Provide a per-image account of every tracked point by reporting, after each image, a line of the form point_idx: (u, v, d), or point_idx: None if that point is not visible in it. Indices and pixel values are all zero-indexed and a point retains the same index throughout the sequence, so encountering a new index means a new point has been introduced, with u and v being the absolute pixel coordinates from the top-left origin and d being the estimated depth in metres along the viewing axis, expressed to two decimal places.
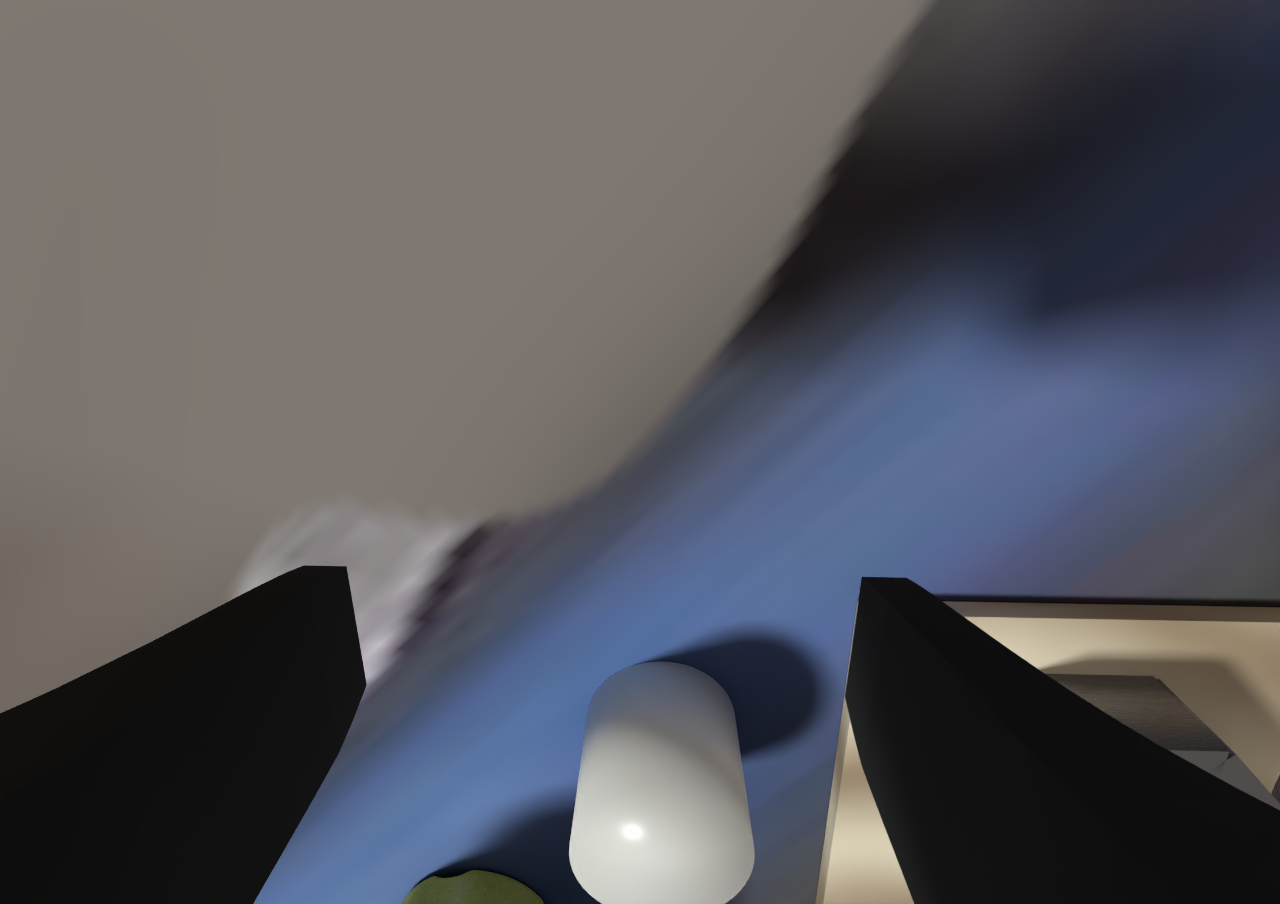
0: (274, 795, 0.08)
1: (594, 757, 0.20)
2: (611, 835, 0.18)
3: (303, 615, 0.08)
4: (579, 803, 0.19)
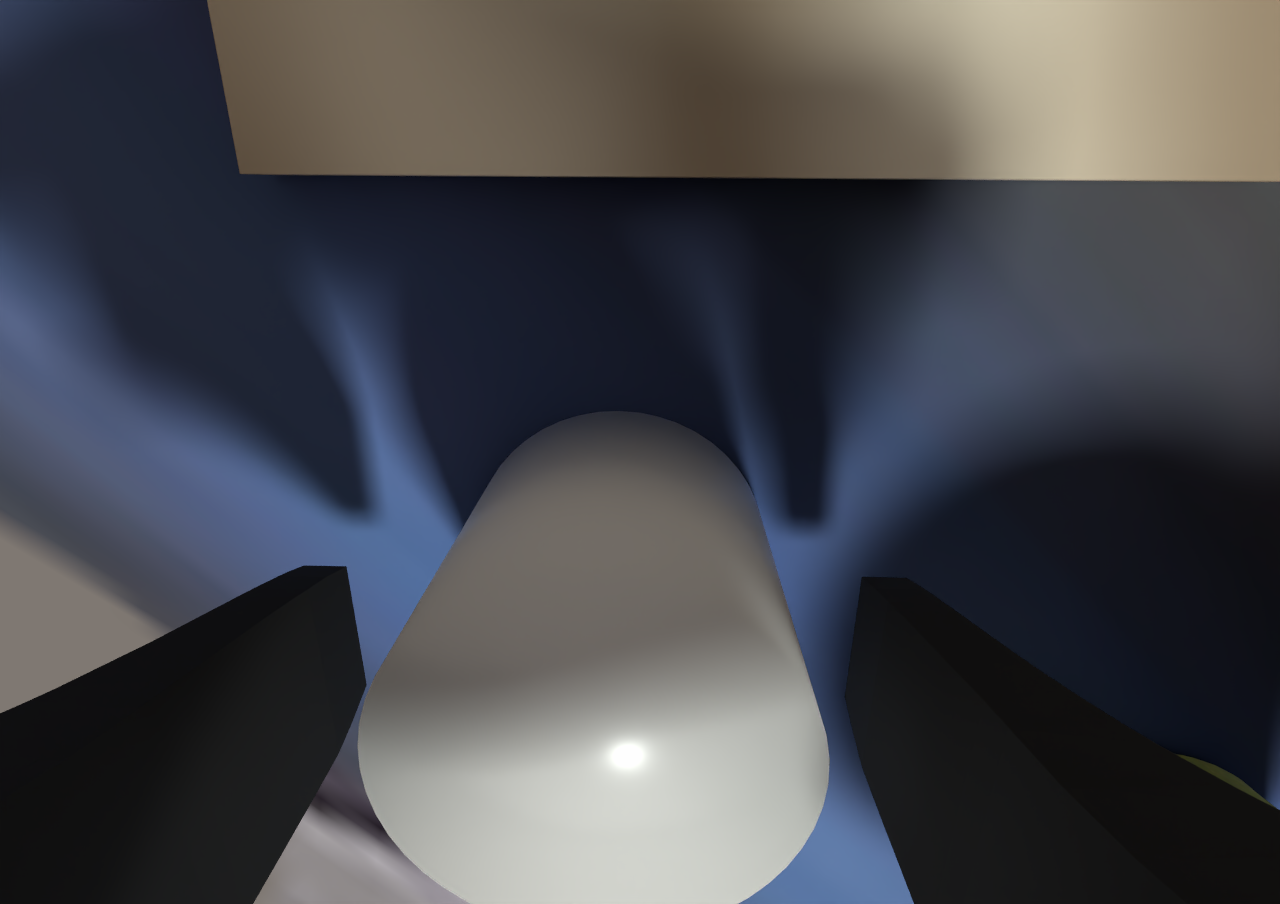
0: (274, 796, 0.08)
1: None
2: (528, 865, 0.08)
3: (304, 614, 0.08)
4: None
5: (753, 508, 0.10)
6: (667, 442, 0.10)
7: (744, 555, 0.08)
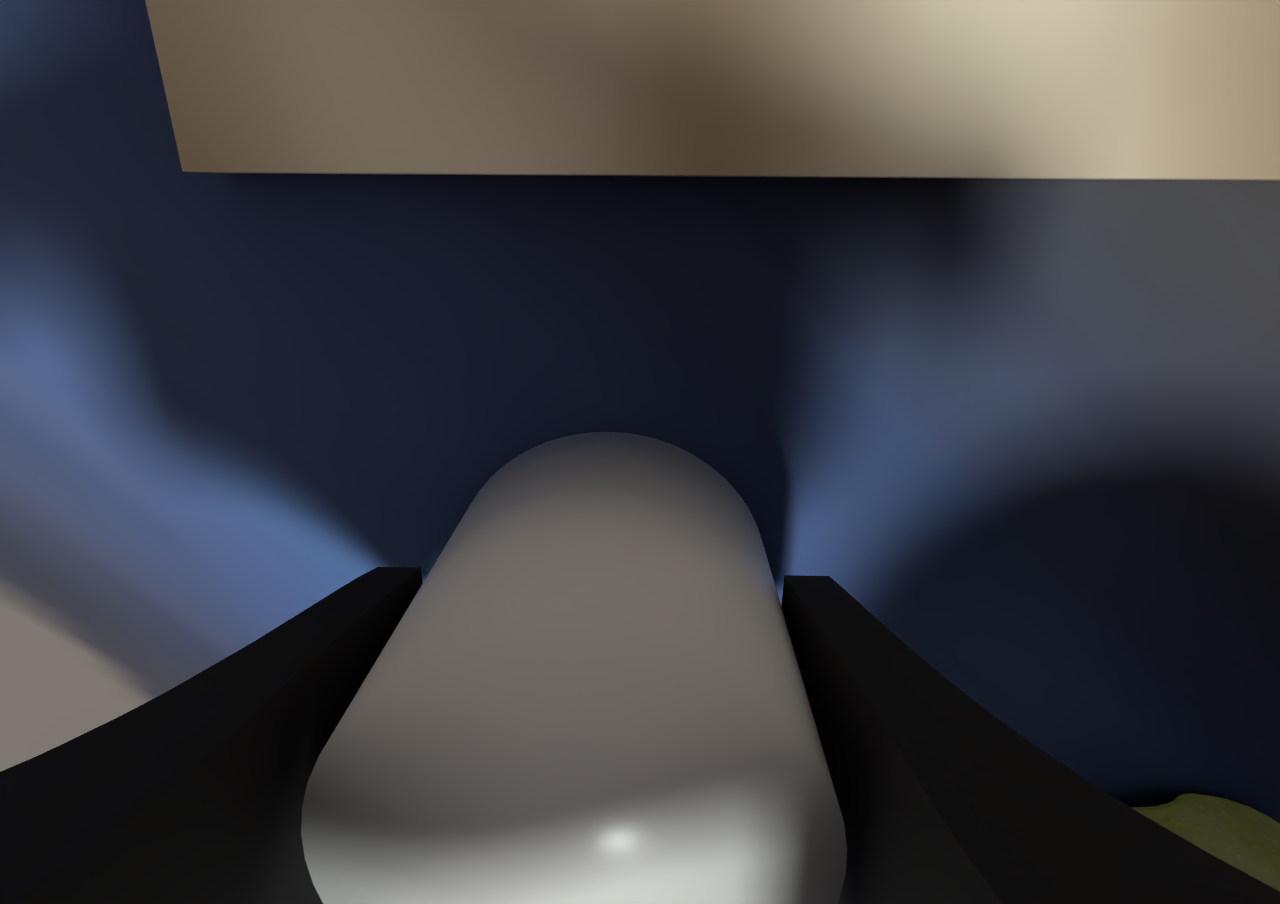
0: None
1: None
2: None
3: (387, 616, 0.08)
4: None
5: (756, 540, 0.09)
6: (661, 469, 0.09)
7: (746, 604, 0.07)
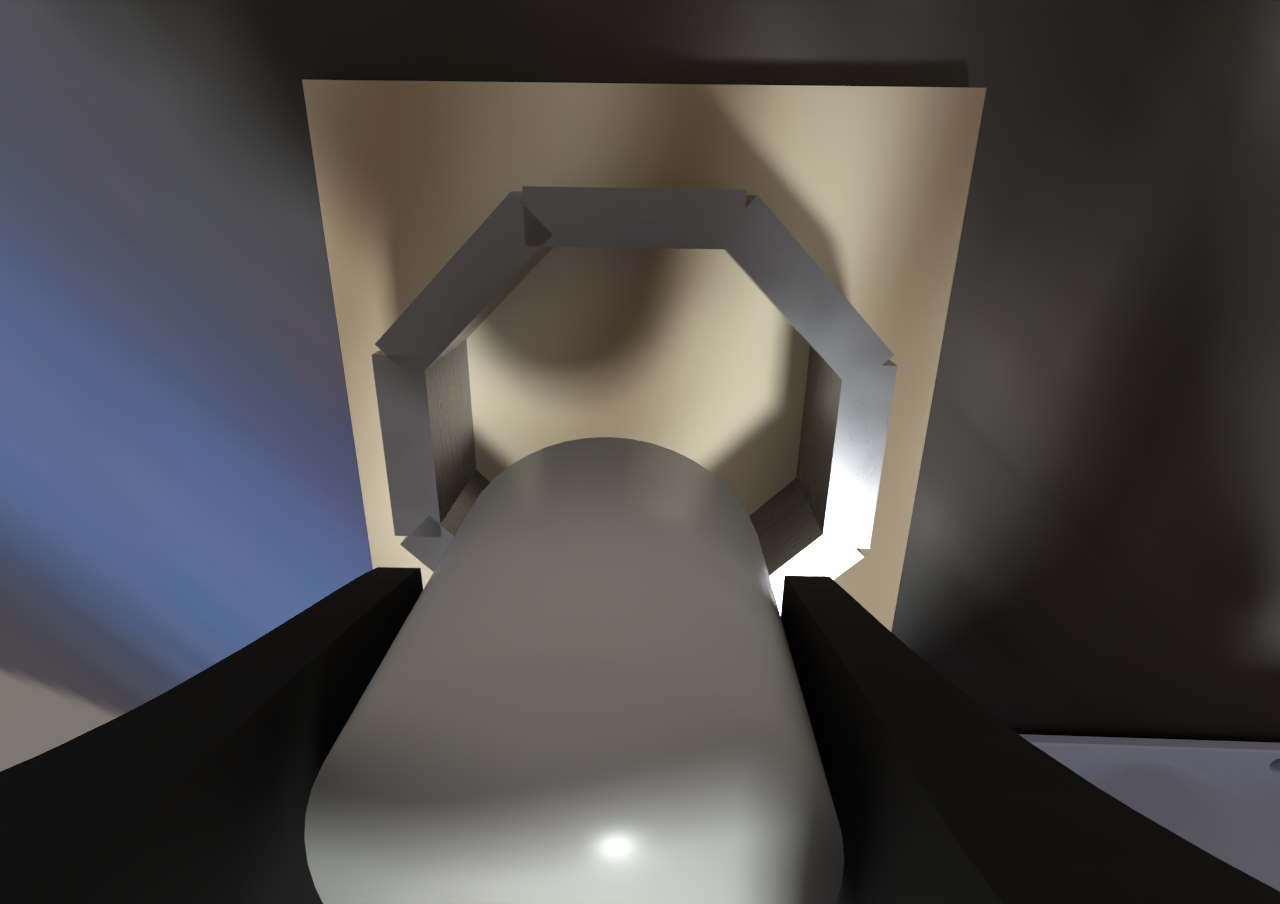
0: None
1: None
2: None
3: (387, 616, 0.08)
4: None
5: (755, 548, 0.09)
6: (662, 476, 0.09)
7: (747, 615, 0.07)
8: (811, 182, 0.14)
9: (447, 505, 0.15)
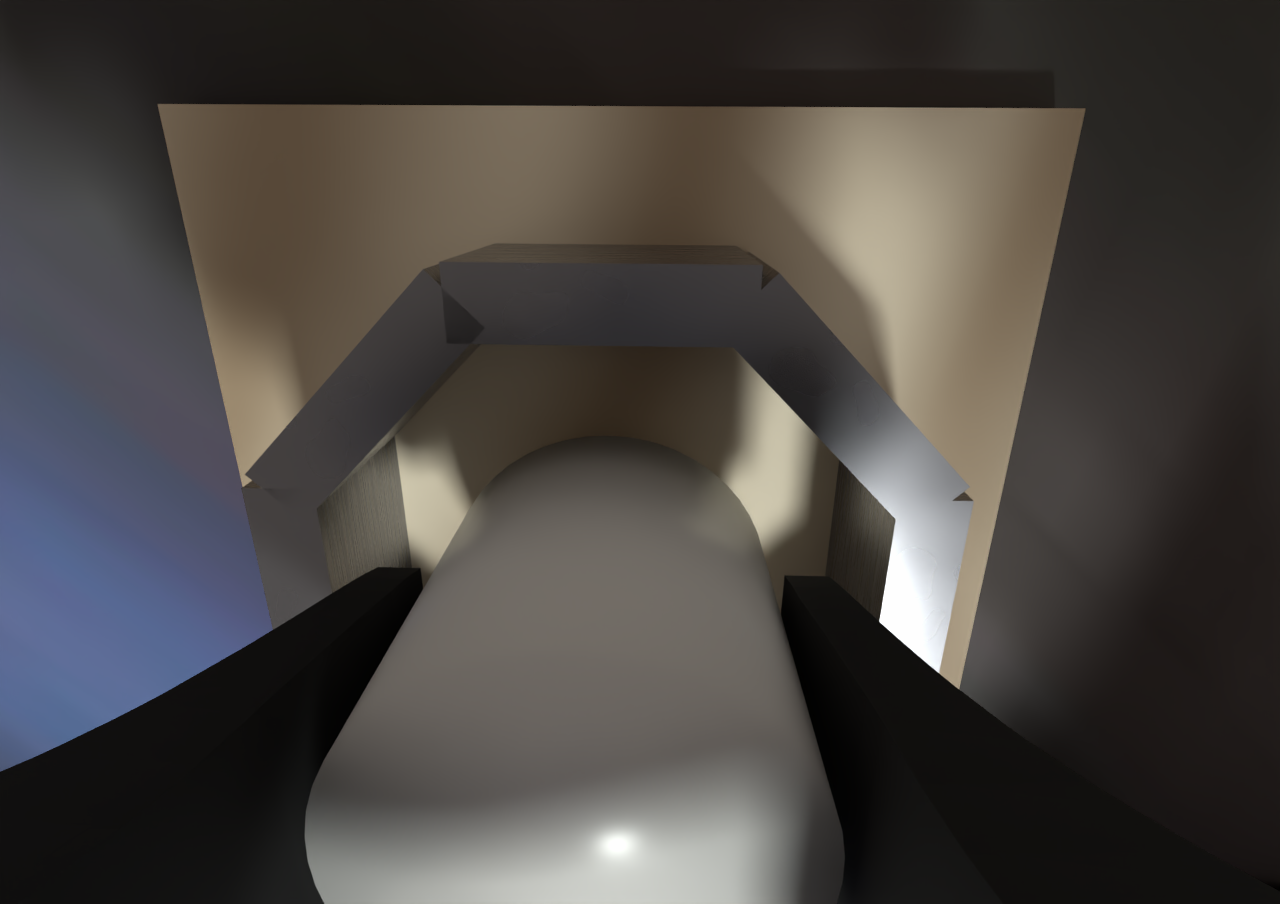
0: None
1: None
2: None
3: (387, 616, 0.08)
4: None
5: (756, 547, 0.09)
6: (663, 475, 0.09)
7: (748, 613, 0.07)
8: (844, 235, 0.11)
9: None
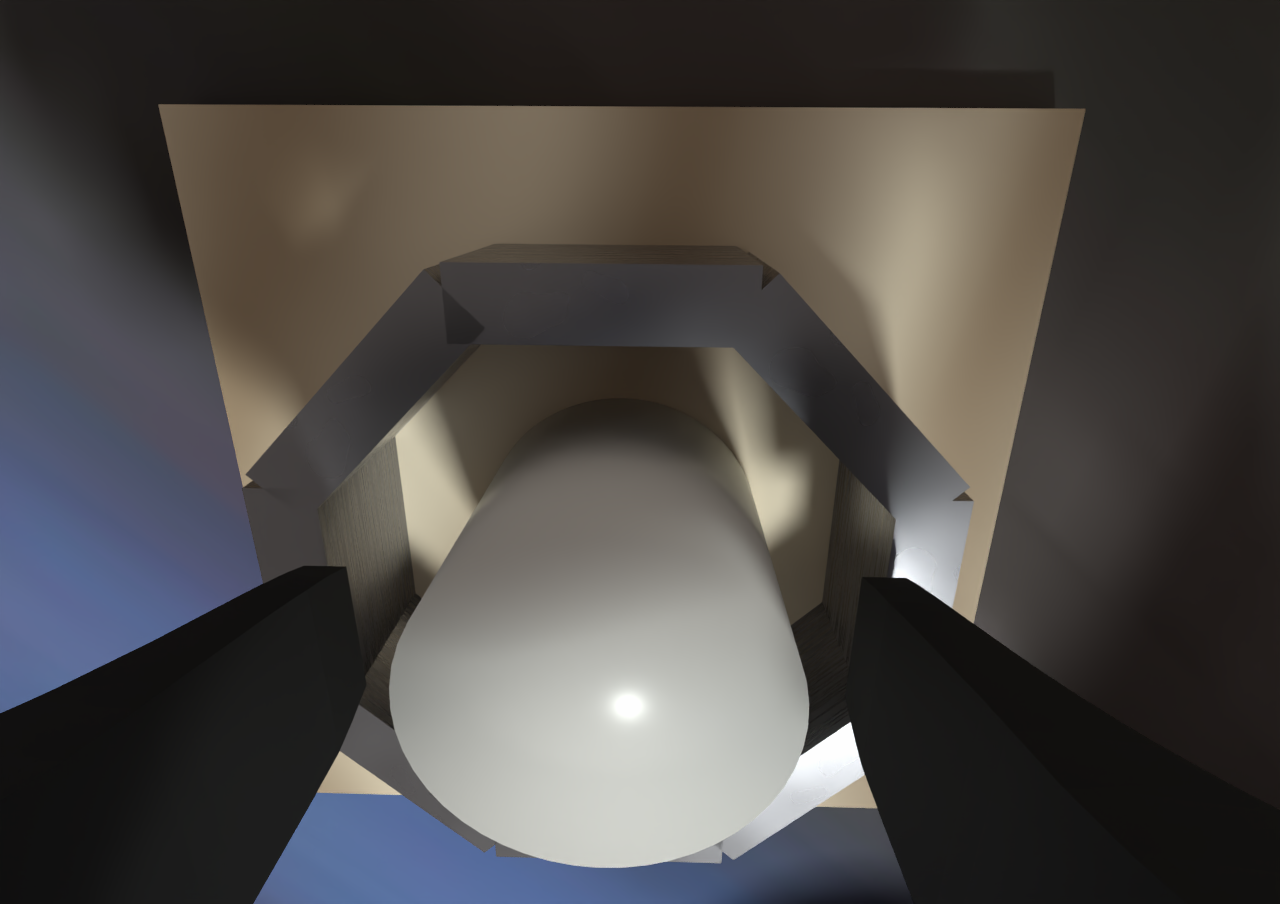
0: (274, 795, 0.08)
1: None
2: (538, 800, 0.09)
3: (304, 614, 0.08)
4: None
5: (746, 489, 0.11)
6: (668, 427, 0.11)
7: (736, 525, 0.09)
8: (845, 235, 0.11)
9: (364, 666, 0.11)
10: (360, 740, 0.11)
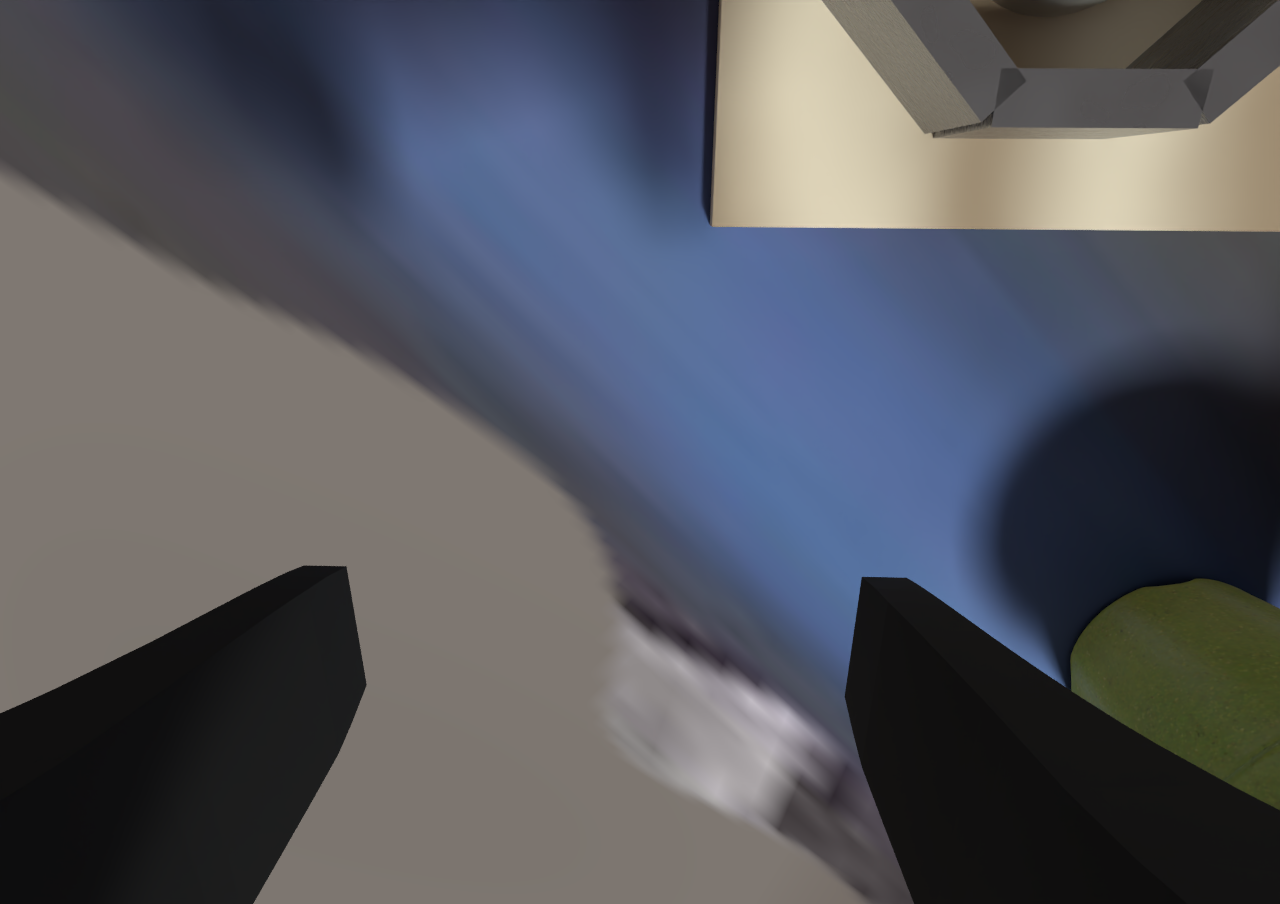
0: (274, 795, 0.08)
1: None
2: None
3: (303, 614, 0.08)
4: None
5: None
6: None
7: None
8: None
9: None
10: None
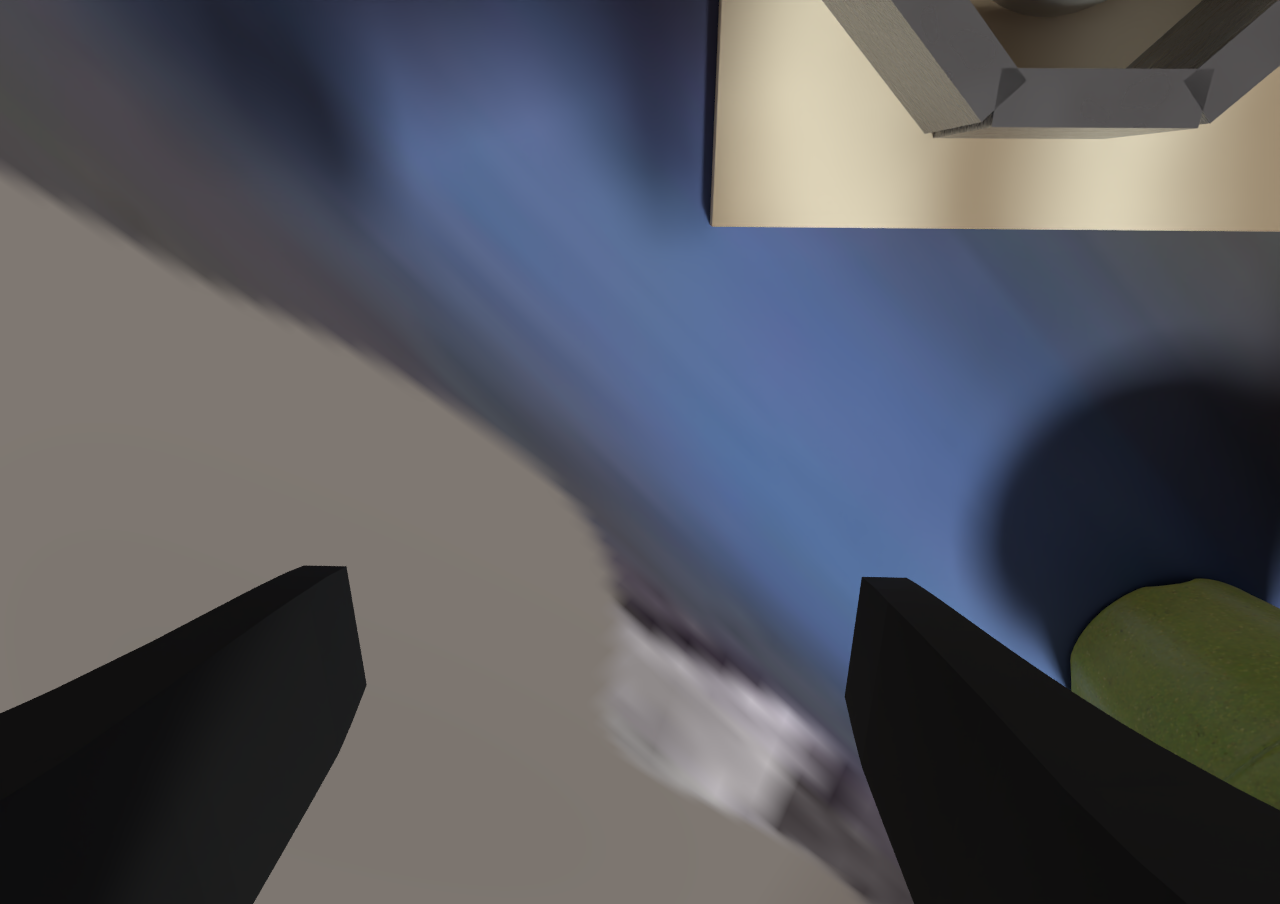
0: (274, 795, 0.08)
1: None
2: None
3: (303, 614, 0.08)
4: None
5: None
6: None
7: None
8: None
9: None
10: None
